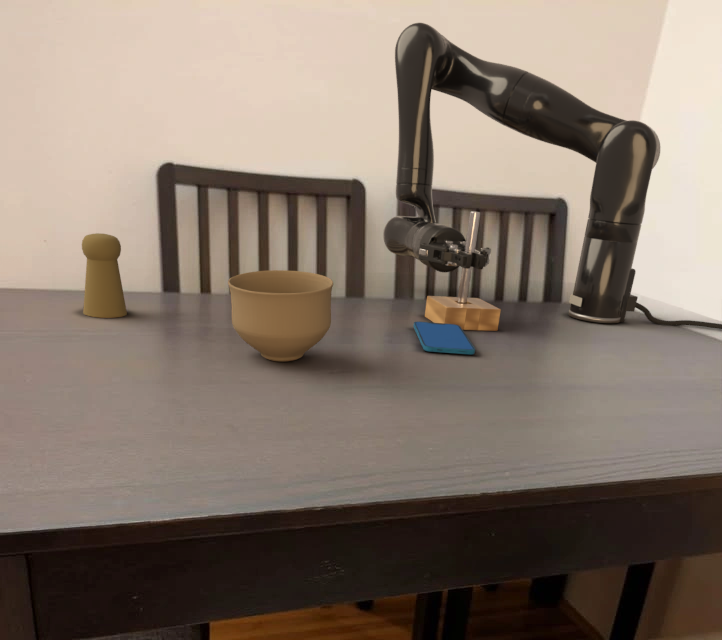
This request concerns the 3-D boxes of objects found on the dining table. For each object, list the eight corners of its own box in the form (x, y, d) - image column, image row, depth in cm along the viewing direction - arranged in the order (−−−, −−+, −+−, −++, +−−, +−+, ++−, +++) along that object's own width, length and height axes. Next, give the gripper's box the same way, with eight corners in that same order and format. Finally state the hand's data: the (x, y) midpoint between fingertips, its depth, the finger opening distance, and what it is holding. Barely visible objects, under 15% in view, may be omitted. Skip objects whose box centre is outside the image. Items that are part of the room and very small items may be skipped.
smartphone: (424, 346, 100) (412, 321, 114) (423, 353, 101) (412, 327, 114) (476, 350, 101) (459, 324, 115) (475, 357, 101) (458, 330, 115)
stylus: (463, 313, 122) (478, 211, 115) (466, 315, 120) (482, 212, 114) (454, 312, 121) (468, 211, 115) (457, 314, 120) (472, 212, 113)
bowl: (206, 353, 91) (206, 271, 87) (280, 341, 100) (283, 266, 96) (275, 378, 83) (279, 289, 79) (349, 362, 92) (355, 282, 88)
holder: (475, 318, 127) (478, 298, 125) (497, 331, 118) (501, 309, 117) (424, 316, 124) (427, 295, 123) (443, 329, 116) (446, 307, 115)
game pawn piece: (93, 318, 102) (88, 237, 98) (76, 310, 106) (70, 231, 102) (134, 316, 106) (131, 237, 101) (116, 307, 110) (112, 231, 105)
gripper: (404, 222, 126) (438, 234, 111) (477, 227, 130) (519, 240, 115) (399, 266, 129) (431, 284, 114) (470, 270, 133) (511, 288, 118)
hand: (475, 262), depth 115 cm, fingers closed on stylus, 1 cm apart
